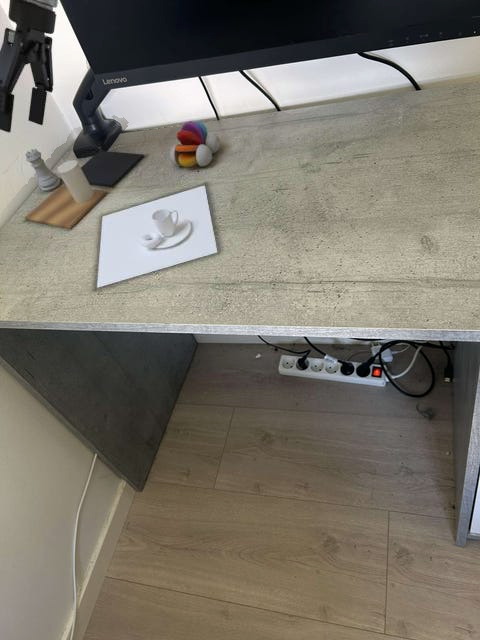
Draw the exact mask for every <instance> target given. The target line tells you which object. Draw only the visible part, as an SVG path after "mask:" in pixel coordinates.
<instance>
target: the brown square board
mask: <svg viewBox="0 0 480 640" xmlns="http://www.w3.org/2000/svg"><path fill="white" fill-rule="evenodd" d="M92 190H93V192H94V196H93V197H92V198H91V199H90V200H88V201H87V202H84V203H77V202H76V201H75V200H74V198H73V196H72V194H71V193H70V191H69V189H68V188H67V186H66V185H62V184H60V185H59V186H58V187H57V188H55V189H54V190H53V192H52V193H51V194H50V195H49V196H47V197H46V198H45V199H44V200H42V201H41V203H40V204H39V205H37V206H36V207H35V208H34V209H33V210H32V211H31V212H30V213H28V215H26V216H25V217H24V218H25V220H26V221H28V222H29V221H30V222H34V223H39V224H42V225H43V224H44V225H49V226H54V227H59V228H64V229H67V230H72V228H73V227H74V226H75V225H76V224H77V223H78V222H80V220H81V219H82V218H83V217H84V216H85V215H86V214H87V213H88V212H89V211H91V210H92V209H93V208H94V207H95V205H96V204H98V203H99V202H100V201H101V200H102V199H103V198H104V197H105V196H106V195H107V192H106V191H105V190H98V189H92Z"/></svg>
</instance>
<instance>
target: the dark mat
mask: <svg viewBox="0 0 480 640" xmlns="http://www.w3.org/2000/svg"><path fill="white" fill-rule="evenodd" d="M144 158H145V155H144V153H131V152H118V151H110V150H109V151H106V150H99V151H97V152H96V153H95V155H93V156H92V157H91V158H89V160H88V161H87V162H86V163H84V164H83V165H82V166H80V168H81V170H82V171H83V173H84V175H85V177H86V179H87V181H88V182H89V184H90V186H95V187H96V186H97V187H105V188H112V189H113V188H114V187H115V186H116V185H117V184H118V183H119V182H121V180H123V178H125V176H126V175H127V174H128V173H129V172H131V171H132V170H133V169H134V168H135V166H137V165H138V164H139V163H140V162H141V161H142V160H143V159H144Z"/></svg>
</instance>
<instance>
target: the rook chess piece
mask: <svg viewBox="0 0 480 640" xmlns="http://www.w3.org/2000/svg"><path fill="white" fill-rule="evenodd" d="M24 155H25V157H26V159H25V160H26V162H28V163H30V164H31V165H30V166H31V167H32V168H33V169H34V171H35V173H36V176H37V180H38V186H39V187H40V189H41V191H44V192H51V191H54V190H56V189H57V188H59V187H60V185H61V179H60V177H59V176H58V174H56V173H54V172H53V170H50V168H49V167H48V166H47V164H46V163H45V160H44V159H43V158H42V152H40V151H39V150H38V149H37V148H34V149H30V150H28V151H26V153H25V154H24Z"/></svg>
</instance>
